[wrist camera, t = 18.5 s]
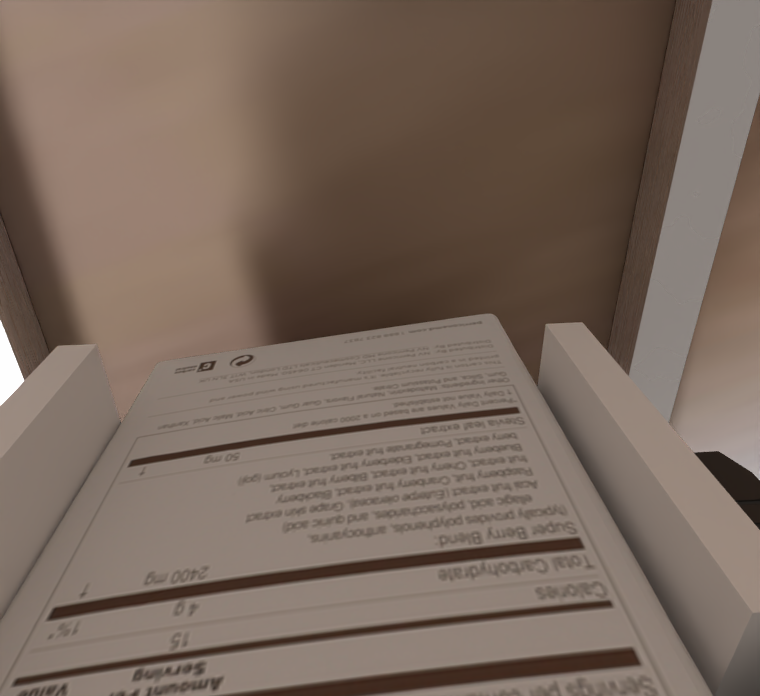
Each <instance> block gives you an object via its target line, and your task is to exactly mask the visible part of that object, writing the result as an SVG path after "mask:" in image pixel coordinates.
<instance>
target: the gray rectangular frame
mask: <svg viewBox="0 0 760 696" xmlns="http://www.w3.org/2000/svg"><path fill="white" fill-rule="evenodd" d="M759 94H760V0H676V5H675V10H674V15H673V20H672V26H671V31H670V36H669V41H668V46H667V51H666V56H665V61H664V66H663V71H662V76H661V81H660V87H659V92H658V97H657V102H656V107H655V112H654V117H653V122H652V127H651V132H650V137H649V142H648V148H647V153H646V158H645V163H644V168H643V173H642V178H641V183H640V188H639V193H638V198H637V203H636V209H635V214H634V219H633V224H632V229H631V234H630V239H629V244H628V249H627V254H626V259H625V265H624V270H623V275H622V280H621V285H620V290H619V295H618V300H617V305H616V310H615V315H614V320H613V326H612V331H611V336H610V341H609V346H608V351H607V352H608V353H609V354H610V355H611V356H612V358H613V359H614V360H615V361H616V362H617V363H618V365H619V366H620V367H621V368H622V369H623V370H624V372H625V373H626V374H627V375H628V376H629V377H630V379H631V380H632V381H633V382H634V383H635V384H636V386H637V387H638V388H639V389H640V390H641V391H642V393H643V394H644V395H645V396H646V397H647V399H648V400H649V401H650V402H651V403H652V404H653V406H654V407H655V408H656V409H657V410H658V411H659V413H660V414H661V415H662V416H663V417H664V418H665V420H666V421H667V422H668V423H669V420H670V416H671V413H672V409H673V406H674V402H675V398H676V395H677V391H678V388H679V384H680V380H681V377H682V373H683V369H684V366H685V362H686V359H687V355H688V351H689V348H690V344H691V340H692V337H693V333H694V330H695V326H696V322H697V319H698V315H699V312H700V308H701V304H702V301H703V297H704V293H705V290H706V286H707V283H708V279H709V275H710V272H711V268H712V264H713V261H714V257H715V254H716V250H717V246H718V243H719V239H720V235H721V232H722V228H723V225H724V221H725V217H726V214H727V210H728V207H729V203H730V199H731V196H732V192H733V188H734V185H735V181H736V178H737V174H738V170H739V167H740V163H741V159H742V156H743V152H744V149H745V145H746V141H747V138H748V134H749V131H750V127H751V123H752V120H753V116H754V112H755V109H756V105H757V102H758V98H759ZM48 355H49V351H48V348H47V345H46V342H45V340H44V337H43V334H42V331H41V328H40V325H39V323H38V320H37V317H36V314H35V311H34V308H33V305H32V303H31V300H30V297H29V294H28V291H27V288H26V286H25V283H24V280H23V277H22V274H21V271H20V269H19V266H18V263H17V260H16V257H15V254H14V252H13V249H12V246H11V243H10V240H9V237H8V234H7V232H6V229H5V226H4V223H3V220H2V217H1V215H0V405H1V404H2V403H3V402H4V401H5V400H6V399H7V398H8V397H9V396H10V395H11V394H12V393H13V392H14V391H15V390H16V389H17V388H18V387H19V386H20V385H21V384H22V382H23V381H24V380H25V379H26V378H27V377H28V376H29V375H30V374H31V373H32V372H33V371H34V370H35V369H36V368H37V367H38V366H39V365H40V364H41V363H42V362H43V361H44V360H45V359H46V358H47V357H48Z"/></svg>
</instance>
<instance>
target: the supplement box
mask: <svg viewBox="0 0 760 696" xmlns="http://www.w3.org/2000/svg"><path fill="white" fill-rule="evenodd" d="M0 696H713V695H712V693H711V691H710V689H709V688H708V686H707V684H706V682H705V680H704V679H703V677H702V675H701V673H700V672H699V670H698V668H697V667H696V665H695V663H694V661H693V660H692V658H691V656H690V654H689V653H688V651H687V649H686V648H685V646H684V644H683V642H682V641H681V639H680V637H679V635H678V634H677V632H676V630H675V629H674V627H673V625H672V623H671V622H670V620H669V618H668V616H667V614H666V612H665V611H664V609H663V607H662V605H661V603H660V602H659V600H658V598H657V596H656V594H655V593H654V591H653V589H652V587H651V585H650V583H649V582H648V580H647V578H646V576H645V574H644V573H643V571H642V569H641V567H640V566H639V564H638V562H637V560H636V559H635V557H634V555H633V553H632V552H631V550H630V548H629V546H628V545H627V543H626V541H625V539H624V538H623V536H622V534H621V532H620V530H619V529H618V527H617V525H616V523H615V522H614V520H613V518H612V516H611V515H610V513H609V511H608V509H607V508H606V506H605V504H604V502H603V501H602V499H601V497H600V495H599V494H598V492H597V490H596V488H595V487H594V485H593V483H592V482H591V480H590V478H589V476H588V475H587V473H586V471H585V469H584V468H583V466H582V464H581V462H580V460H579V459H578V457H577V455H576V453H575V451H574V450H573V448H572V446H571V445H570V443H569V441H568V440H567V438H566V436H565V434H564V433H563V431H562V429H561V427H560V426H559V424H558V422H557V420H556V419H555V417H554V415H553V413H552V412H551V410H550V408H549V406H548V405H547V403H546V401H545V399H544V398H543V396H542V394H541V393H540V391H539V389H538V387H537V386H536V384H535V382H534V380H533V379H532V377H531V375H530V373H529V372H528V370H527V368H526V367H525V365H524V363H523V362H522V360H521V358H520V357H519V355H518V353H517V352H516V350H515V348H514V346H513V345H512V343H511V341H510V339H509V337H508V335H507V334H506V332H505V330H504V329H503V327H502V325H501V324H500V322H499V320H498V318H497V317H496V316H495V315H493V314H480V315H473V316H465V317H458V318H451V319H444V320H437V321H430V322H424V323H417V324H410V325H403V326H396V327H390V328H383V329H376V330H369V331H362V332H355V333H349V334H342V335H335V336H328V337H322V338H315V339H308V340H302V341H295V342H288V343H281V344H275V345H268V346H261V347H255V348H248V349H241V350H235V351H228V352H221V353H214V354H207V355H200V356H193V357H186V358H180V359H173V360H167V361H162V362H159V363H157V364H156V366H155V367H154V369H153V371H152V372H151V374H150V376H149V378H148V379H147V381H146V383H145V384H144V386H143V388H142V389H141V391H140V393H139V394H138V396H137V398H136V399H135V401H134V403H133V404H132V406H131V408H130V409H129V411H128V413H127V414H126V416H125V418H124V419H123V421H122V423H121V424H120V426H119V428H118V429H117V431H116V433H115V434H114V436H113V438H112V439H111V441H110V442H109V444H108V446H107V447H106V449H105V450H104V452H103V454H102V455H101V457H100V458H99V460H98V461H97V463H96V465H95V466H94V468H93V470H92V471H91V473H90V475H89V476H88V478H87V480H86V481H85V483H84V485H83V486H82V488H81V490H80V491H79V493H78V495H77V496H76V498H75V499H74V501H73V503H72V504H71V506H70V508H69V509H68V511H67V513H66V514H65V516H64V517H63V519H62V521H61V522H60V524H59V526H58V527H57V529H56V531H55V532H54V534H53V535H52V537H51V539H50V540H49V542H48V544H47V545H46V547H45V549H44V550H43V552H42V554H41V555H40V557H39V558H38V560H37V562H36V563H35V565H34V567H33V568H32V570H31V572H30V573H29V575H28V577H27V578H26V580H25V582H24V583H23V585H22V586H21V588H20V590H19V591H18V593H17V595H16V596H15V598H14V600H13V601H12V603H11V605H10V606H9V608H8V610H7V611H6V613H5V614H4V616H3V618H2V619H1V621H0Z"/></svg>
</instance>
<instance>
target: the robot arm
mask: <svg viewBox="0 0 760 696" xmlns="http://www.w3.org/2000/svg"><path fill="white" fill-rule="evenodd" d="M537 387H538V389H539V391H540V393H541V394H542V396H543V398H544V399H545V401H546V403H547V405H548V406H549V408H550V410H551V412H552V413H553V415H554V417H555V419H556V420H557V422H558V424H559V426H560V427H561V429H562V431H563V433H564V434H565V436H566V438H567V440H568V441H569V443H570V445H571V446H572V448H573V450H574V451H575V453H576V455H577V457H578V459H579V460H580V462H581V464H582V466H583V468H584V469H585V471H586V473H587V475H588V476H589V478H590V480H591V482H592V483H593V485H594V487H595V488H596V490H597V492H598V494H599V495H600V497H601V499H602V501H603V502H604V504H605V506H606V508H607V509H608V511H609V513H610V515H611V516H612V518H613V520H614V522H615V523H616V525H617V527H618V529H619V530H620V532H621V534H622V536H623V538H624V539H625V541H626V543H627V545H628V546H629V548H630V550H631V552H632V553H633V555H634V557H635V559H636V560H637V562H638V564H639V566H640V567H641V569H642V571H643V573H644V574H645V576H646V578H647V580H648V582H649V583H650V585H651V587H652V589H653V591H654V593H655V594H656V596H657V598H658V600H659V602H660V603H661V605H662V607H663V609H664V611H665V612H666V614H667V616H668V618H669V620H670V622H671V623H672V625H673V627H674V629H675V630H676V632H677V634H678V635H679V637H680V639H681V641H682V642H683V644H684V646H685V648H686V649H687V651H688V653H689V654H690V656H691V658H692V660H693V661H694V663H695V665H696V667H697V668H698V670H699V672H700V673H701V675H702V677H703V679H704V680H705V682H706V684H707V686H708V688H709V689H710V691H711V693H712V695H713V696H760V481H759V480H758V478H757V477H756V476H755V475H754V474H753V473H752V472H750V471H749V470H747V469H746V468H744V467H742V466H741V465H739V464H738V463H736V462H734V461H733V460H731V459H730V458H728V457H727V456H725V455H723V454H722V453H720V452H719V451H716V452H697V453H694V452H693V451H692V450H691V449H690V448H689V447H688V445H687V444H686V443H685V442H684V441H683V439H682V438H681V437H680V436H679V435H678V434H677V432H676V431H675V430H674V429H673V428H672V427H671V425H670V424H669V423H668V422H667V421H666V420H665V418H664V417H663V416H662V415H661V414H660V413H659V411H658V410H657V409H656V408H655V407H654V406H653V404H652V403H651V402H650V401H649V400H648V399H647V397H646V396H645V395H644V394H643V393H642V391H641V390H640V389H639V388H638V387H637V386H636V384H635V383H634V382H633V381H632V380H631V379H630V377H629V376H628V375H627V374H626V373H625V372H624V370H623V369H622V368H621V367H620V366H619V365H618V363H617V362H616V361H615V360H614V359H613V358H612V356H611V355H610V354H609V353H608V352H607V350H606V349H605V348H604V347H603V346H602V345H601V343H600V342H599V341H598V340H597V339H596V338H595V336H594V335H593V334H592V333H591V332H590V331H589V329H588V328H587V327H586V326H585V325H584V324H583V322H577V323H554V324H546V325H545V333H544V341H543V348H542V356H541V363H540V371H539V378H538V386H537ZM120 424H121V422H120V418H119V415H118V412H117V408H116V405H115V402H114V398H113V395H112V392H111V389H110V385H109V382H108V379H107V375H106V372H105V369H104V366H103V362H102V359H101V356H100V352H99V349H98V346H97V344H85V345H62V346H57V347H56V348H55V349H54V350H53V351H52V352H51V353H50V354H49V355H48V357H47V358H46V359H45V360H44V361H43V362H42V363H41V364H40V365H39V366H38V367H37V368H36V369H35V370H34V371H33V372H32V373H31V374H30V375H29V376H28V377H27V378H26V379H25V380H24V381H23V382H22V384H21V385H20V386H19V387H18V388H17V389H16V390H15V391H14V392H13V393H12V394H11V395H10V396H9V397H8V398H7V399H6V400H5V401H4V402H3V403H2V404H1V405H0V621H1V619H2V618H3V616H4V614H5V613H6V611H7V610H8V608H9V606H10V605H11V603H12V601H13V600H14V598H15V596H16V595H17V593H18V591H19V590H20V588H21V586H22V585H23V583H24V582H25V580H26V578H27V577H28V575H29V573H30V572H31V570H32V568H33V567H34V565H35V563H36V562H37V560H38V558H39V557H40V555H41V554H42V552H43V550H44V549H45V547H46V545H47V544H48V542H49V540H50V539H51V537H52V535H53V534H54V532H55V531H56V529H57V527H58V526H59V524H60V522H61V521H62V519H63V517H64V516H65V514H66V513H67V511H68V509H69V508H70V506H71V504H72V503H73V501H74V499H75V498H76V496H77V495H78V493H79V491H80V490H81V488H82V486H83V485H84V483H85V481H86V480H87V478H88V476H89V475H90V473H91V471H92V470H93V468H94V466H95V465H96V463H97V461H98V460H99V458H100V457H101V455H102V454H103V452H104V450H105V449H106V447H107V446H108V444H109V442H110V441H111V439H112V438H113V436H114V434H115V433H116V431H117V429H118V428H119V426H120Z"/></svg>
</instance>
